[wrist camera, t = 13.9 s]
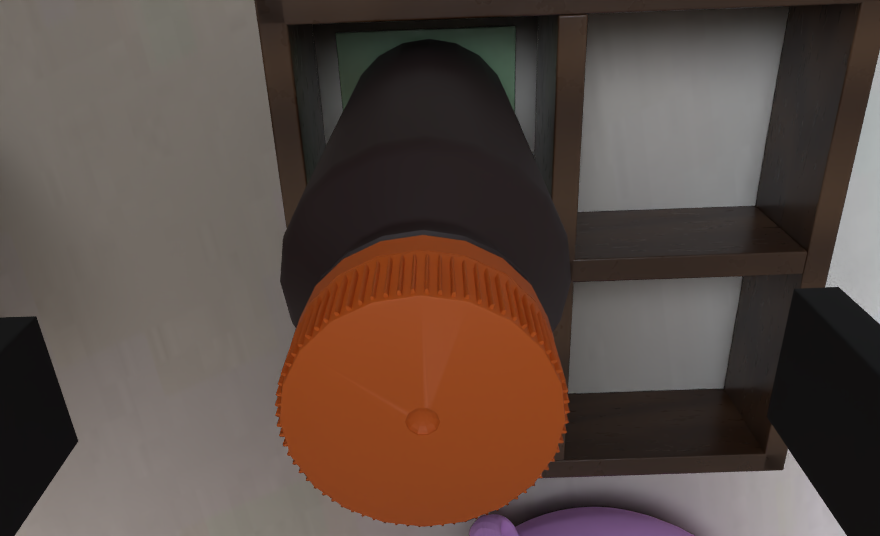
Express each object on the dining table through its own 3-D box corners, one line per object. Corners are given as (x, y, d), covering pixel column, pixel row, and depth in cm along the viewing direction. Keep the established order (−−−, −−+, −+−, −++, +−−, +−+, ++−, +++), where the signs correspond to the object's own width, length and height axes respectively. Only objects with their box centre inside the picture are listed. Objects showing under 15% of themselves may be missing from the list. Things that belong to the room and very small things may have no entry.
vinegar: (324, 68, 29) (139, 308, 11) (484, 13, 28) (575, 173, 10) (381, 215, 31) (311, 601, 13) (528, 170, 31) (662, 518, 13)
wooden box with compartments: (282, -17, 27) (253, -6, 23) (822, -38, 27) (899, -31, 23) (336, 417, 37) (322, 485, 32) (740, 403, 36) (783, 470, 32)
